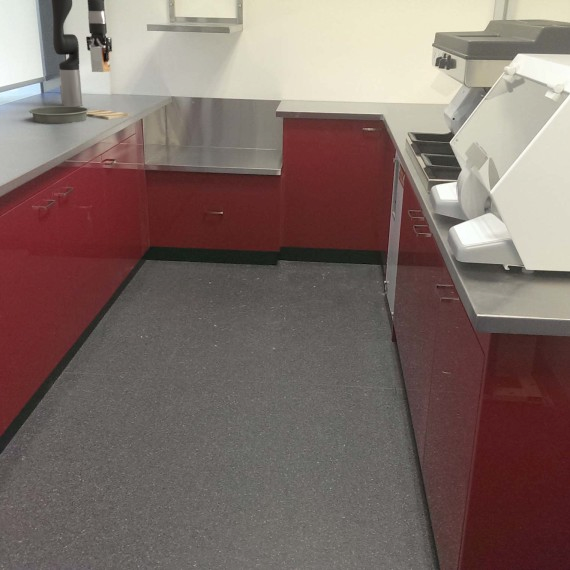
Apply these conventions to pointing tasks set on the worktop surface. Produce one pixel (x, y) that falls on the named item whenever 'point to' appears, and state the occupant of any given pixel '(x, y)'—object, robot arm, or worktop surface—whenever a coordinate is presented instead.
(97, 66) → the small box
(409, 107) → the worktop surface
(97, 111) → the maple board
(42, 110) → the cake pan
